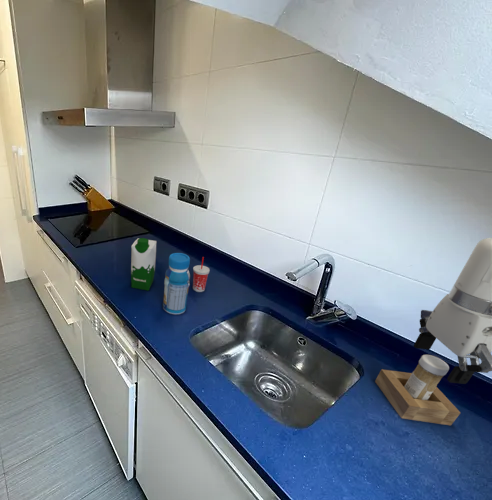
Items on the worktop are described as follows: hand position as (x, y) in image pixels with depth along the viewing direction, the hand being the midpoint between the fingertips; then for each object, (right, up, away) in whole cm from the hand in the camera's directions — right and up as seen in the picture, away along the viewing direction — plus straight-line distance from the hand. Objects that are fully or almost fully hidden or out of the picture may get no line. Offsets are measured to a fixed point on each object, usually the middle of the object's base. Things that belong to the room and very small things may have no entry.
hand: (437, 363), depth 63 cm
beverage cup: (-44, +10, +48) cm, 66 cm away
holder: (-1, -12, +6) cm, 13 cm away
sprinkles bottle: (-1, -12, +6) cm, 13 cm away
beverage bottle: (-55, +5, +36) cm, 66 cm away
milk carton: (-66, +12, +49) cm, 83 cm away
